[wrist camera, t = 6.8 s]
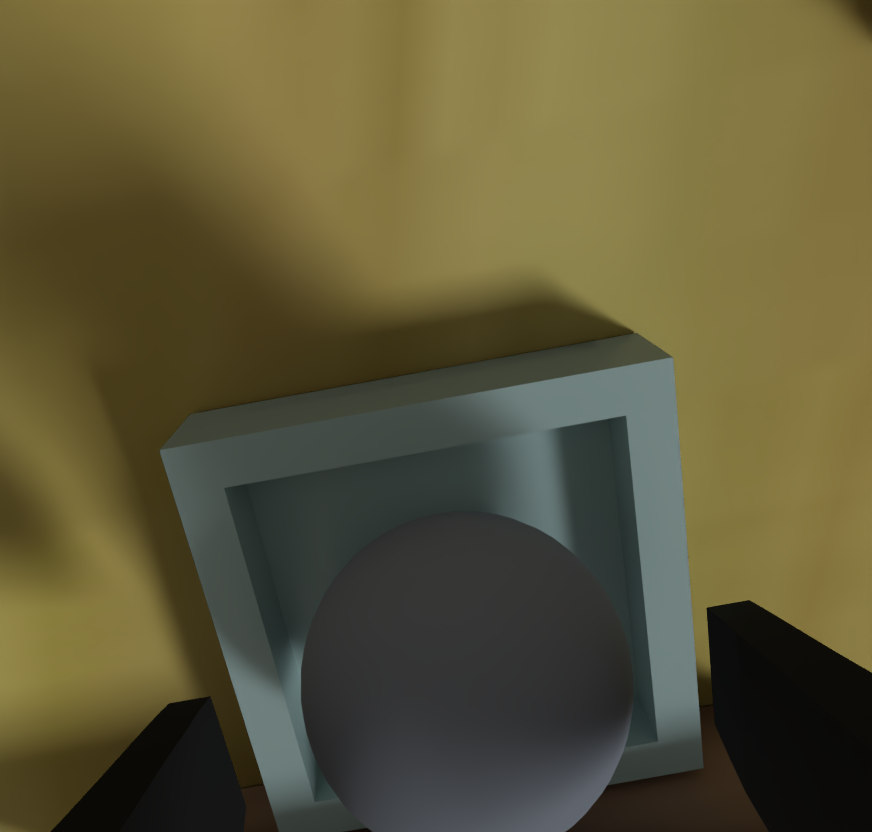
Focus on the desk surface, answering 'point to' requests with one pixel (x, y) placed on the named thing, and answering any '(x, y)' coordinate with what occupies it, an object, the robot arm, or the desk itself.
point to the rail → (632, 799)
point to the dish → (439, 493)
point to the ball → (466, 680)
